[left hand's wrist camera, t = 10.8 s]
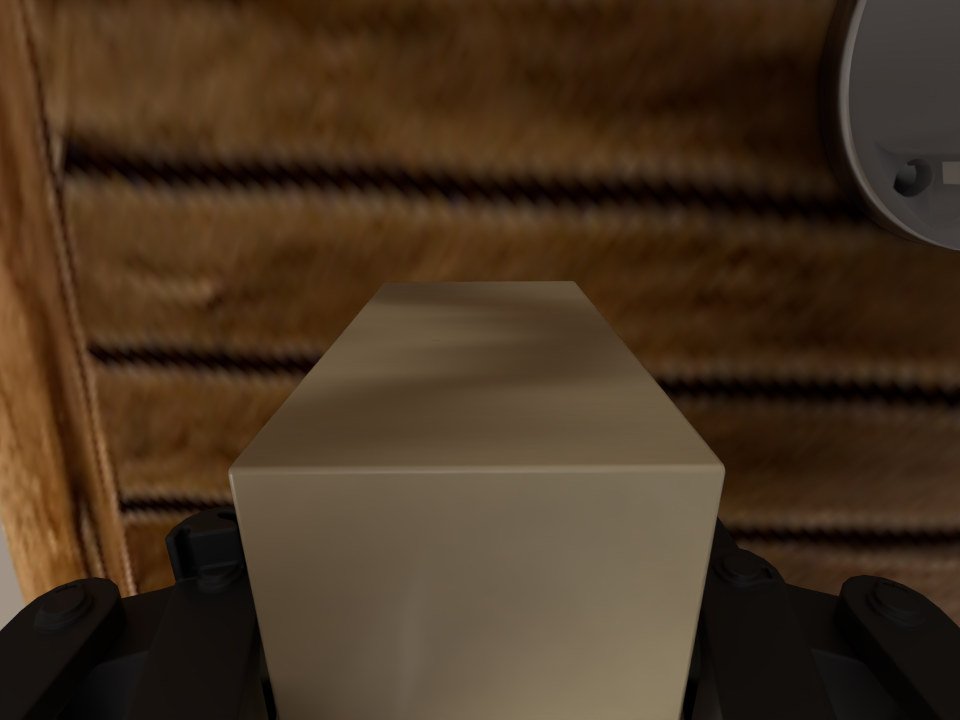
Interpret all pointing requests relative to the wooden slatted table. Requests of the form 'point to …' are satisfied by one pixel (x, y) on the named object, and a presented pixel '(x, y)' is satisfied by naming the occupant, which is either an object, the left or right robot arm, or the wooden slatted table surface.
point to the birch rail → (478, 517)
